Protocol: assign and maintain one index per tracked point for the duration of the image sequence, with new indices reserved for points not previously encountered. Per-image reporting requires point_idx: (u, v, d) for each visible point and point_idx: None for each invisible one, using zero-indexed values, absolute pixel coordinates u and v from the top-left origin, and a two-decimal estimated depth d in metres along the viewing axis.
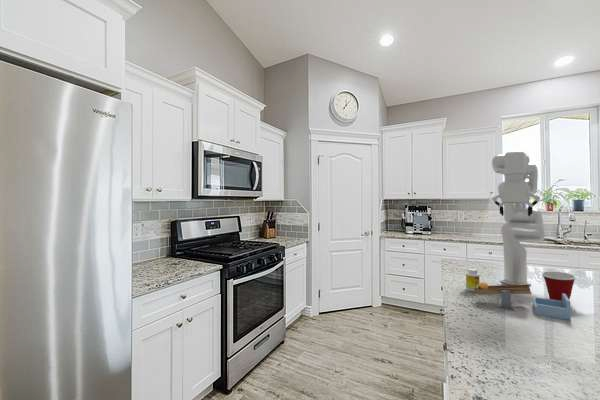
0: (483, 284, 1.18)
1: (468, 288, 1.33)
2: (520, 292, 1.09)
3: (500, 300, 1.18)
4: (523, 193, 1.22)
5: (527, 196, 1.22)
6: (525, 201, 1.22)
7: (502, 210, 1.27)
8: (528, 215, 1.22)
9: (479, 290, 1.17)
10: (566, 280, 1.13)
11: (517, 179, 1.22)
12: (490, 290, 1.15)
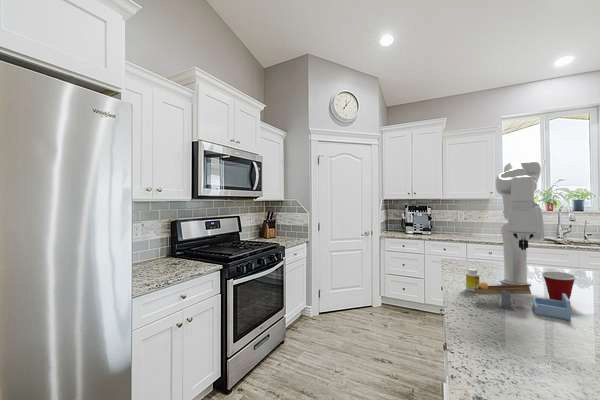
0: (483, 284, 1.18)
1: (468, 288, 1.33)
2: (520, 292, 1.09)
3: (500, 300, 1.18)
4: (532, 223, 1.11)
5: (536, 226, 1.11)
6: (534, 231, 1.11)
7: (522, 244, 1.14)
8: (524, 249, 1.13)
9: (479, 290, 1.17)
10: (566, 280, 1.13)
11: (525, 207, 1.12)
12: (490, 290, 1.15)
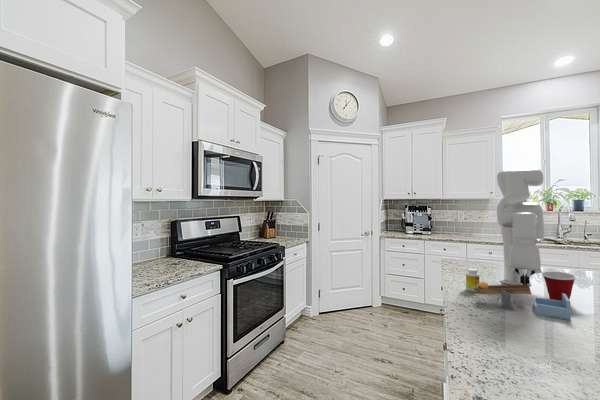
0: (483, 284, 1.18)
1: (468, 288, 1.33)
2: (520, 292, 1.09)
3: (500, 300, 1.18)
4: (534, 260, 1.12)
5: (538, 263, 1.12)
6: (536, 269, 1.12)
7: (523, 280, 1.15)
8: None
9: (479, 290, 1.17)
10: (566, 280, 1.13)
11: (527, 244, 1.12)
12: (490, 290, 1.15)
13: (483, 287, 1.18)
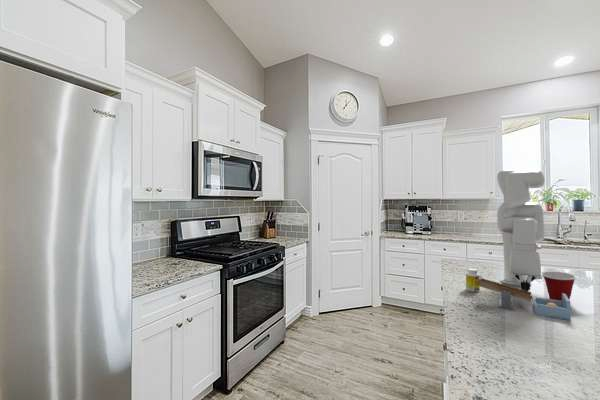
0: None
1: (468, 288, 1.33)
2: (520, 297, 1.09)
3: (500, 300, 1.18)
4: (534, 266, 1.12)
5: (538, 270, 1.11)
6: (536, 275, 1.12)
7: (524, 286, 1.14)
8: None
9: (480, 282, 1.17)
10: (566, 280, 1.13)
11: (527, 250, 1.12)
12: (491, 285, 1.15)
13: None
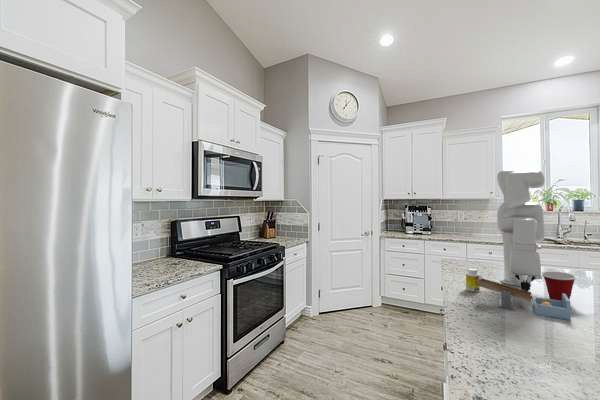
0: None
1: (468, 288, 1.33)
2: (520, 297, 1.09)
3: (500, 300, 1.18)
4: (534, 266, 1.12)
5: (538, 270, 1.11)
6: (536, 275, 1.12)
7: (524, 286, 1.14)
8: None
9: (480, 282, 1.17)
10: (566, 280, 1.13)
11: (527, 250, 1.12)
12: (491, 285, 1.15)
13: None
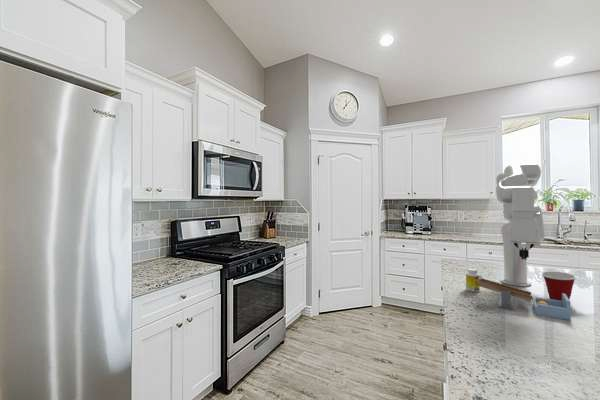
0: None
1: (468, 288, 1.33)
2: (520, 297, 1.09)
3: (500, 300, 1.18)
4: (533, 233, 1.13)
5: (537, 236, 1.12)
6: (535, 241, 1.12)
7: (522, 253, 1.15)
8: (524, 259, 1.15)
9: (480, 282, 1.17)
10: (566, 280, 1.13)
11: (526, 218, 1.13)
12: (491, 285, 1.15)
13: None
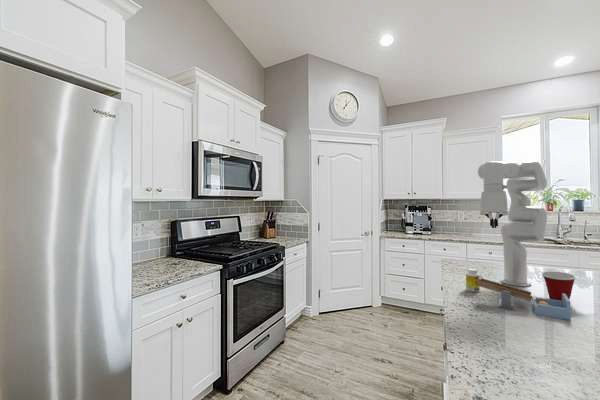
0: None
1: (468, 288, 1.33)
2: (520, 297, 1.09)
3: (500, 300, 1.18)
4: (501, 203, 1.24)
5: (505, 206, 1.23)
6: (503, 211, 1.24)
7: (492, 222, 1.26)
8: (494, 227, 1.26)
9: (480, 282, 1.17)
10: (566, 280, 1.13)
11: (495, 189, 1.24)
12: (491, 285, 1.15)
13: None
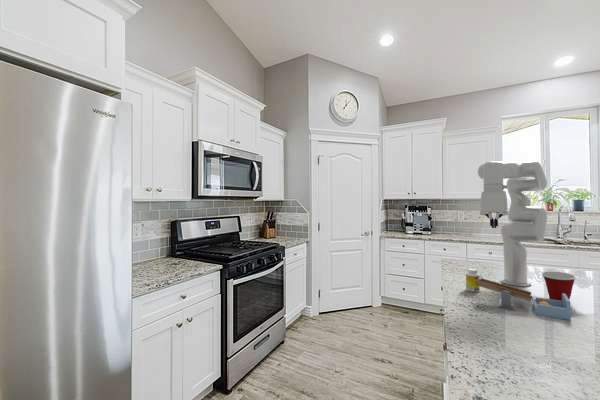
0: (544, 304, 1.06)
1: (468, 288, 1.33)
2: (520, 297, 1.09)
3: (500, 300, 1.18)
4: (501, 203, 1.24)
5: (505, 206, 1.23)
6: (503, 211, 1.24)
7: (492, 222, 1.26)
8: (494, 227, 1.26)
9: (480, 282, 1.17)
10: (566, 280, 1.13)
11: (495, 189, 1.24)
12: (491, 285, 1.15)
13: None
